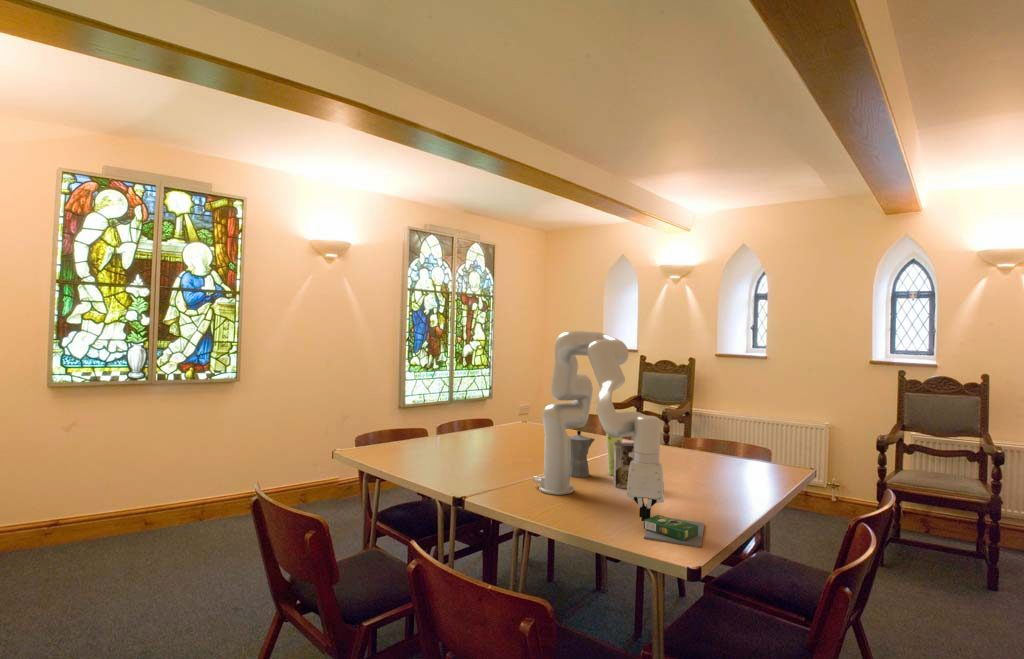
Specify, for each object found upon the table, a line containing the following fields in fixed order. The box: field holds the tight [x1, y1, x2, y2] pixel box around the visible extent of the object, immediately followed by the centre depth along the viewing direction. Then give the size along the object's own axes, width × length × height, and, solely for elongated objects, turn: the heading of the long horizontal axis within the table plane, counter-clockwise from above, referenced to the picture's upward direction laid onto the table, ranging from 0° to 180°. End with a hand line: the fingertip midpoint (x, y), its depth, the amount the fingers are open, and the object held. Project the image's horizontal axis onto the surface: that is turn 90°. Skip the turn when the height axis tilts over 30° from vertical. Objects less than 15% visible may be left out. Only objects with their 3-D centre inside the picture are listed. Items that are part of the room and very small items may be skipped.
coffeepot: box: [568, 430, 596, 479], centre depth 223 cm, size 15×9×18 cm, turn 94°
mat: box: [643, 517, 706, 548], centre depth 158 cm, size 15×20×1 cm
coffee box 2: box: [643, 514, 698, 541], centre depth 155 cm, size 8×3×13 cm
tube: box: [605, 433, 624, 477], centre depth 225 cm, size 6×5×20 cm
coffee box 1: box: [613, 441, 634, 489], centre depth 207 cm, size 9×6×16 cm
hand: (644, 520), depth 161 cm, fingers closed
